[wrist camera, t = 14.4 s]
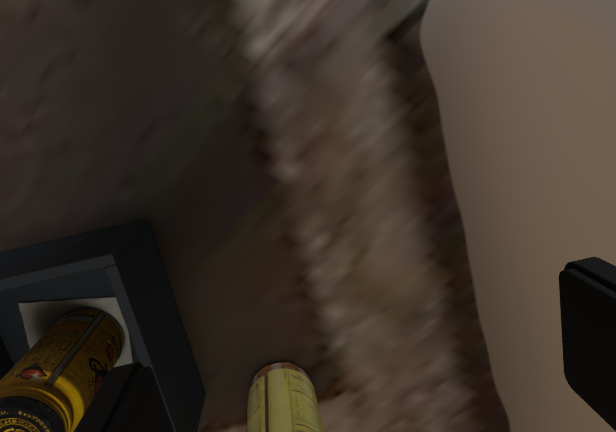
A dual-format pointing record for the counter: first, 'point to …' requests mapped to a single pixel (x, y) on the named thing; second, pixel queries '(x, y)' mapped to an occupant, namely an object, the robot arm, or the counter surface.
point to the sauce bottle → (282, 401)
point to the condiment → (62, 363)
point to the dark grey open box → (105, 284)
